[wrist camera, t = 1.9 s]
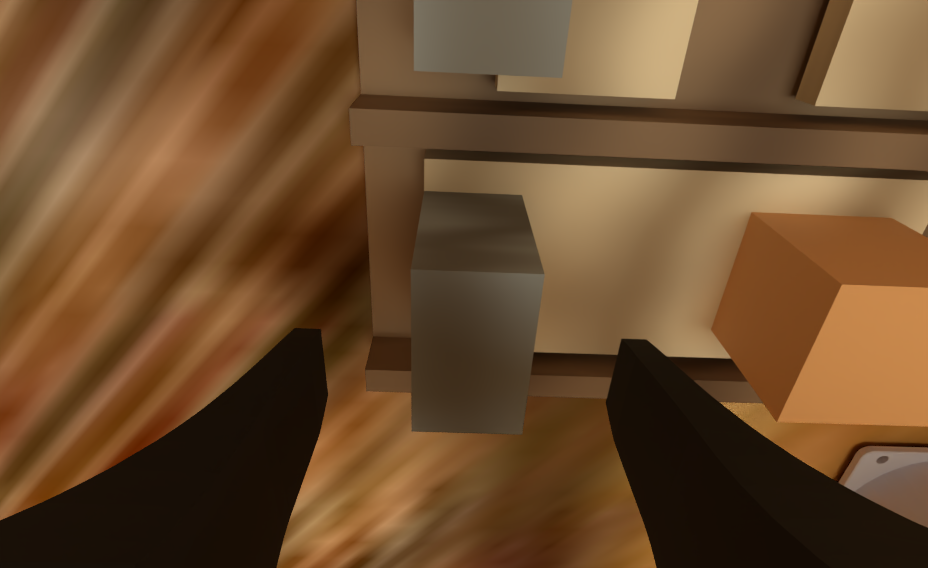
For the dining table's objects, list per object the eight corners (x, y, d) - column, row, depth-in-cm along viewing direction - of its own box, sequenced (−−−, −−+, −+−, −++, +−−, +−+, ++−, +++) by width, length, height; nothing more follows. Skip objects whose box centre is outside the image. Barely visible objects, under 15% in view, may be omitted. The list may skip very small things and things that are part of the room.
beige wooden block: (925, 171, 17) (1133, 256, 12) (836, 346, 20) (966, 472, 15) (426, 149, 16) (410, 228, 11) (424, 332, 20) (411, 456, 15)
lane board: (1356, -259, 12) (1976, -422, 7) (949, 366, 22) (1096, 483, 17) (344, -329, 12) (256, -563, 7) (376, 347, 21) (350, 463, 16)
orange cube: (891, 217, 17) (1024, 291, 13) (834, 334, 19) (932, 426, 15) (751, 212, 16) (842, 284, 13) (711, 329, 19) (776, 422, 15)
